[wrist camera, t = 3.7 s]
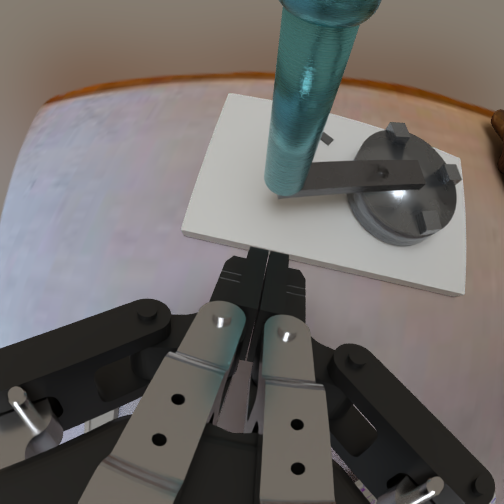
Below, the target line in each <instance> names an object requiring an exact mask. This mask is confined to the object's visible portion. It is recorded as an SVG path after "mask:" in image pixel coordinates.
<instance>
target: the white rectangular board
mask: <svg viewBox="0 0 504 504" xmlns="http://www.w3.org/2000/svg"><path fill="white" fill-rule="evenodd" d="M272 101H273V100H268V99H262V98H257V97H251V96H245V95H238V94H232V93H229V94H228V97H227V99H226V102H225V104H224V107H223V109H222V112H221V115H220V117H219V120H218V122H217V125H216V128H215V130H214V133H213V136H212V139H211V141H210V144H209V147H208V150H207V152H206V155H205V158H204V161H203V164H202V167H201V170H200V172H199V175H198V178H197V181H196V184H195V187H194V190H193V193H192V196H191V199H190V202H189V205H188V209H187V212H186V215H185V218H184V221H183V224H182V228H181V231H182V232H183V234H184V236H187V237H192V238H196V239H200V240H205V241H209V242H214V243H218V244H223V245H227V246H231V247H236V248H240V249H245V250H249V249H250V246H252V247H256V248H261V249H265V250H269V252H268V255H269V254H270V251H275V252H279V253H284V254H288V255H289V260H293V261H298V262H302V263H307V264H311V265H316V266H320V267H324V268H329V269H333V270H338V271H342V272H347V273H351V274H355V275H360V276H364V277H369V278H373V279H377V280H382V281H386V282H391V283H395V284H399V285H404V286H408V287H413V288H417V289H422V290H426V291H430V292H435V293H439V294H444V295H448V296H452V297H457V296H461V295H465V277H466V219H465V201H464V188H463V178H462V169H461V161H460V158H458V157H455V156H453V155H451V154H448V153H446V152H444V151H441V150H439V149H436V148H434V147H433V148H434V149H435V150H436V151H437V152H438V154H439V155H440V156H441V157H442V158H443V160H444V161H445V163H446V164H456V165H457V168H458V170H459V173H460V176H461V178H462V180H461V181H460V182H459V183H458V184H456V185H455V187H456V194H457V203H456V209H455V212H454V215H453V217H452V219H451V220H450V222H449V223H448V224H447V225H446V226H445V227H444V228H443V229H441V230H440V231H438V232H436V233H435V234H433V235H432V236H430V237H428V238H427V239H425V240H424V241H422V242H420V243H418V244H415V245H411V246H396V245H392V244H389V243H386V242H384V241H382V240H380V239H378V238H376V237H375V236H374V235H372V234H371V233H370V232H368V231H367V230H366V229H365V228H364V227H363V226H362V225H361V223H360V222H359V221H358V219H357V218H356V217H355V215H354V213H353V211H352V209H351V207H350V205H349V202H348V199H347V195H346V194H332V195H319V196H307V197H295V198H284V199H278V198H277V194H275V193H273V192H272V191H271V190H270V189H269V188H268V187H267V186H266V184H265V181H264V172H265V163H266V154H267V145H268V136H269V128H270V119H271V110H272ZM383 130H385V129H381V128H378V127H375V126H372V125H369V124H366V123H362V122H359V121H356V120H352V119H349V118H345V117H341V116H338V115H334V114H329V117H328V119H327V122H326V125H325V128H324V131H323V133H322V136H321V139H320V142H319V145H318V147H317V150H316V153H315V156H314V158H313V161H312V162H328V161H353V160H354V158H355V156H356V154H357V153H358V151H359V149H360V147H361V146H362V144H363V142H364V141H365V140H366V139H367V138H368V137H369V136H371V135H372V134H374V133H376V132H379V131H383Z"/></svg>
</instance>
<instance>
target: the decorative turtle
mask: <svg viewBox="0 0 504 504" xmlns="http://www.w3.org/2000/svg"><path fill="white" fill-rule="evenodd" d="M491 124H492V126H493V128H494V129H495V131H496V132H497V134H498V135H499V136H500V138H501V139H502V141H503V151H502V155H501V157H500V159H499V162H498V168H499V171H500V172H502V173H503V174H504V110H501V109H500V110H497V111H496V112H495V113H494V115H493V116H492V119H491Z"/></svg>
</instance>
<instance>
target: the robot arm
mask: <svg viewBox="0 0 504 504" xmlns="http://www.w3.org/2000/svg"><path fill="white" fill-rule="evenodd" d="M268 252H269V250H265V249H261V248H256V247H252V246H250V249H249V252H248V255H247V259H246V258H242V257H237V256H233V257H231V258H230V259H229V260H227V261H226V262H225V264H224V267H223V269H222V272H221V274H220V277H219V279H218V282H217V284H216V286H215V289H214V291H213V294H212V296H211V299H210V301H209V303H206V304H205V305H203V306H202V307H201V308H200V310H199V312H197V313H194V314H189V315H171V311H170V309H169V308H168V307H167V306H166V305H165V304H164V303H162V302H160V301H158V300H154V299H140V300H136V301H133V302H131V303H128V304H125V305H122V306H119V307H117V308H114V309H111V310H108V311H105V312H103V313H100V314H97V315H94V316H91V317H89V318H86V319H83V320H80V321H77V322H75V323H72V324H69V325H66V326H63V327H60V328H58V329H55V330H52V331H49V332H46V333H43V334H41V335H38V336H35V337H32V338H29V339H26V340H23V341H21V342H18V343H15V344H12V345H9V346H6V347H3V348H1V349H0V504H371V503H370V502H369V501H368V499H367V498H366V497H365V496H364V494H363V493H362V492H361V491H360V489H359V488H358V487H357V486H356V484H355V483H354V482H353V481H352V479H351V478H350V477H349V476H348V474H347V473H346V472H345V471H344V469H343V468H342V467H341V466H340V465H339V464H338V463H337V462H335V461H334V460H333V459H332V455H331V447H332V448H333V449H334V450H335V452H336V453H337V454H338V455H339V456H340V458H341V459H342V460H343V461H344V462H345V464H346V465H347V466H348V467H349V468H350V469H351V471H352V472H353V473H354V474H355V475H356V476H357V478H358V479H359V480H360V481H361V482H362V483H363V485H364V486H365V487H366V488H367V489H368V490H369V491H370V493H371V494H372V495H373V496H374V497H375V498H376V499H377V502H376V504H489V503H490V502H491V501H492V499H493V497H494V493H495V483H494V479H493V477H492V475H491V474H490V472H489V471H488V470H487V469H486V468H485V467H484V466H483V465H482V464H481V463H480V462H479V461H478V460H477V459H476V458H475V457H474V456H473V455H472V454H471V453H470V452H469V451H468V450H467V449H466V448H465V447H464V446H463V445H462V444H461V443H460V442H459V440H458V439H457V438H456V437H455V436H454V435H453V434H452V433H451V432H450V431H449V430H448V429H447V428H446V427H445V426H444V425H443V424H442V423H441V422H440V421H439V420H438V419H437V418H436V417H435V416H434V415H433V414H432V413H431V412H430V411H429V410H428V409H427V408H426V407H425V406H424V405H423V404H422V403H421V402H420V401H419V400H418V399H417V398H416V397H415V396H414V395H413V394H412V393H411V392H410V391H409V390H408V389H407V388H406V387H405V386H404V385H403V384H402V383H401V382H400V381H399V380H398V379H397V378H396V377H395V376H394V375H393V374H392V373H391V372H390V371H389V370H388V369H387V368H386V367H385V366H384V365H383V364H382V363H381V362H380V361H379V360H378V359H377V358H376V357H375V356H374V355H373V354H372V353H371V352H370V351H369V350H367V349H366V348H364V347H362V346H360V345H356V344H343V345H341V346H339V347H338V348H337V349H336V350H333V349H331V348H329V347H326V346H324V345H322V344H320V343H318V342H317V341H316V340H314V339H313V338H312V337H311V334H310V330H309V328H308V327H307V325H306V324H305V278H304V276H303V275H302V273H301V271H300V270H296V269H292V268H288V264H289V255H288V254H284V253H279V252H275V251H270V254H269V259H268V263H267V258H268ZM266 263H267V267H266ZM265 268H266V271H265ZM264 274H265V276H264ZM263 279H264V280H263ZM254 322H255V323H254ZM253 326H254V328H253ZM252 330H253V333H252ZM251 334H252V338H251ZM250 338H251V343H250V348H249V353H248V357H247V361H249V362H253V366H252V371H251V374H250V378H249V382H248V393H247V404H246V415H245V425H244V432H243V433H231V432H228V431H226V430H224V429H222V428H220V427H217V423H218V420H219V417H220V414H221V411H222V408H223V405H224V402H225V399H226V397H227V394H228V391H229V388H230V385H231V382H232V379H233V375H234V373H235V372H236V370H237V367H238V363H239V359H240V360H244V361H245V358H246V354H247V350H248V346H249V342H250ZM140 397H142V398H141V400H140V402H139V403H138V405H137V407H136V409H135V411H134V412H133V414H131V415H126V416H122V417H119V418H116V419H113V420H111V421H109V422H107V423H105V424H103V425H101V426H99V427H97V428H95V429H93V430H91V431H89V432H86V433H84V434H82V435H80V436H78V437H76V438H74V439H71V440H69V441H67V442H65V443H63V444H60V442H61V440H62V438H63V431H65V430H68V429H70V428H73V427H75V426H78V425H80V424H82V423H85V422H87V421H89V420H92V419H94V418H96V417H98V416H101V415H103V414H105V413H107V412H110V411H112V410H114V409H116V408H118V407H121V406H123V405H125V404H127V403H129V402H131V401H134V400H136V399H138V398H140ZM353 404H354V405H355V406H356V407H357V408H358V409H359V410H360V412H361V413H362V414H363V415H364V416H365V417H366V418H367V419H368V420H369V422H370V423H371V424H372V425H373V426H374V427H375V429H376V430H375V429H374V428H373V427H372V426H371V425H370V424H369V422H368V421H367V420H366V419H365V418H364V417H363V416H362V415H361V414H360V412H359V411H358V410H357V409H356V408H355V407H354V406H353ZM59 444H60V445H59Z"/></svg>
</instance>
